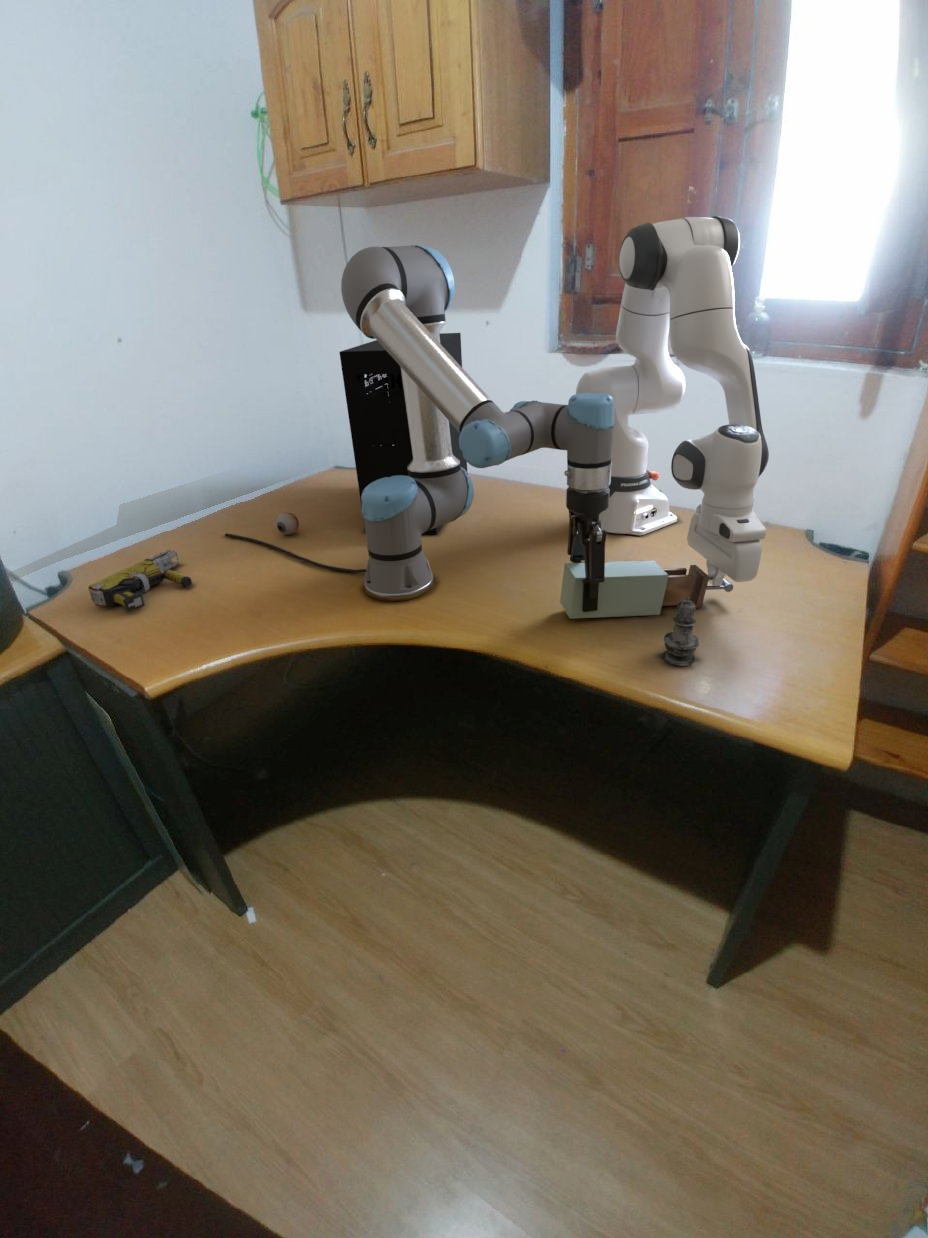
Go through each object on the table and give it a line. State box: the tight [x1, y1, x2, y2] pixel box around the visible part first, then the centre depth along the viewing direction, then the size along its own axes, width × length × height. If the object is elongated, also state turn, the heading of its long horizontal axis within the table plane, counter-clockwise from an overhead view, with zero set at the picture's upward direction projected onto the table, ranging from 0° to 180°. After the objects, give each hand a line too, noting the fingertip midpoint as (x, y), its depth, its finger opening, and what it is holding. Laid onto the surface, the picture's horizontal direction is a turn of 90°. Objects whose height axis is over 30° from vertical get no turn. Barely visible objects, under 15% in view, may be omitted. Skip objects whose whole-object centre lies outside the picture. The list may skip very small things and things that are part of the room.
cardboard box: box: [339, 332, 469, 535], centre depth 166 cm, size 38×20×45 cm, turn 167°
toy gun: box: [87, 549, 193, 614], centre depth 138 cm, size 5×24×15 cm
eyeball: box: [275, 511, 300, 536], centre depth 163 cm, size 6×6×6 cm
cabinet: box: [559, 560, 669, 619], centre depth 117 cm, size 18×7×9 cm, turn 98°
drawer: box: [662, 564, 734, 609], centre depth 119 cm, size 23×6×7 cm, turn 98°
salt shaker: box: [662, 596, 700, 667], centre depth 102 cm, size 6×6×12 cm
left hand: (583, 601), depth 118 cm, fingers closed on cabinet, 7 cm apart
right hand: (714, 583), depth 119 cm, fingers closed
